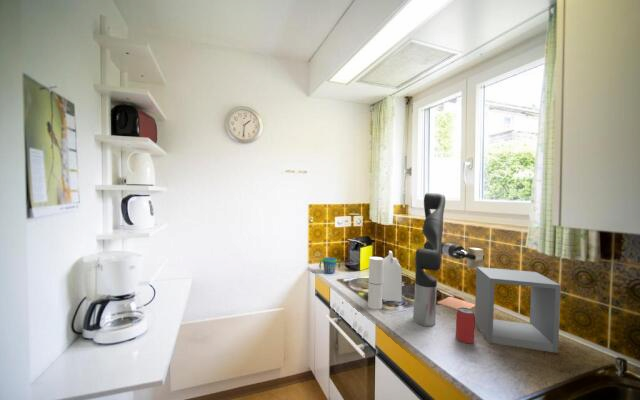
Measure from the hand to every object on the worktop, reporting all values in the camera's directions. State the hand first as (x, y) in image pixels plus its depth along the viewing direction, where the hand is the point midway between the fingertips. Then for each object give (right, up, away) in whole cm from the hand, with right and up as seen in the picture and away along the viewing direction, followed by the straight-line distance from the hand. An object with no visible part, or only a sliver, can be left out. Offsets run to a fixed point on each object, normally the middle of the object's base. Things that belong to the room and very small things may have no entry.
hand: (479, 257), depth 131 cm
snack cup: (-73, -25, +61) cm, 98 cm away
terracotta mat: (-7, -27, +9) cm, 30 cm away
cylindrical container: (-51, -26, +5) cm, 58 cm away
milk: (-41, -26, +17) cm, 51 cm away
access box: (0, -28, -22) cm, 36 cm away
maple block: (-1, -6, +3) cm, 7 cm away
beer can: (-21, -28, -25) cm, 43 cm away
